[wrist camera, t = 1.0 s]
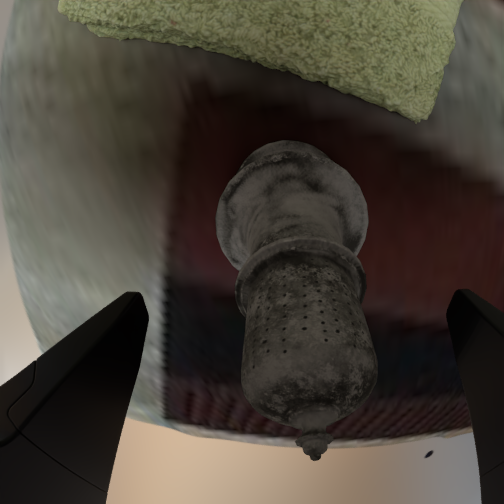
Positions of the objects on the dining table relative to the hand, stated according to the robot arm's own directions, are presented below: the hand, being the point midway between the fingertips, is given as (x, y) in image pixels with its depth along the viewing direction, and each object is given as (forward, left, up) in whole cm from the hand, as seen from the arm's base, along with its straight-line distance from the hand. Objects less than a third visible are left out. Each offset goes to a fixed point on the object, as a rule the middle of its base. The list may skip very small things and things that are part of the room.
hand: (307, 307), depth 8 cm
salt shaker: (0, 0, -8) cm, 8 cm away
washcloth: (0, -12, -9) cm, 15 cm away
